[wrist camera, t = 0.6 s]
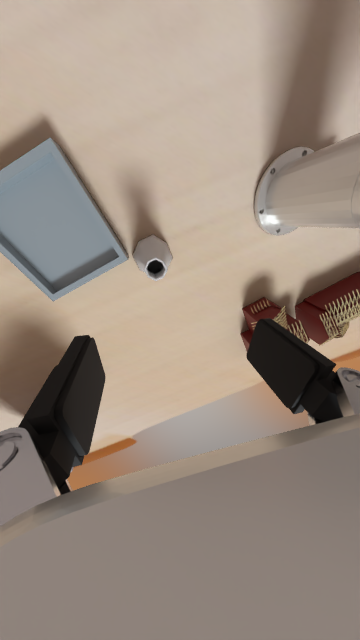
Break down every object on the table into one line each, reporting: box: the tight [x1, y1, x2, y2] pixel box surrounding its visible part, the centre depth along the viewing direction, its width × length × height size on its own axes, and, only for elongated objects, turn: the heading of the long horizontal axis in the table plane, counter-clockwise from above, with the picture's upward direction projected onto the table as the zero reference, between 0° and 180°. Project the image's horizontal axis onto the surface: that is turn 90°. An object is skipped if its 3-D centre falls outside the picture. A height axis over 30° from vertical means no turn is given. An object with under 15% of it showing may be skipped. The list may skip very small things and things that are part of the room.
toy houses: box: [241, 272, 360, 351], centre depth 40 cm, size 45×20×10 cm, turn 117°
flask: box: [133, 235, 173, 281], centre depth 27 cm, size 7×7×10 cm
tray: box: [0, 138, 129, 301], centre depth 26 cm, size 16×16×2 cm
